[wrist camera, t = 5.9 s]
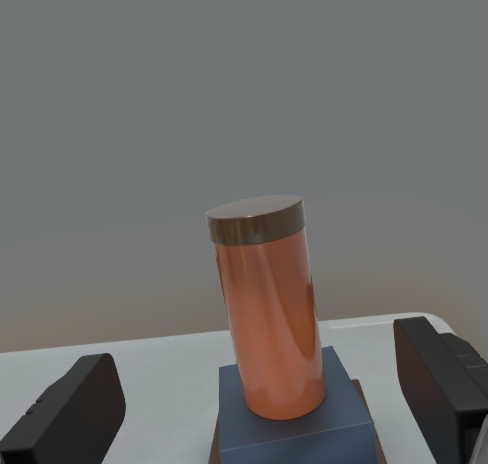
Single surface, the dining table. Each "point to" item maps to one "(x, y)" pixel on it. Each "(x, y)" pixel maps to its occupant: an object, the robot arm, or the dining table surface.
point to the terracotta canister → (270, 303)
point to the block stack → (297, 426)
